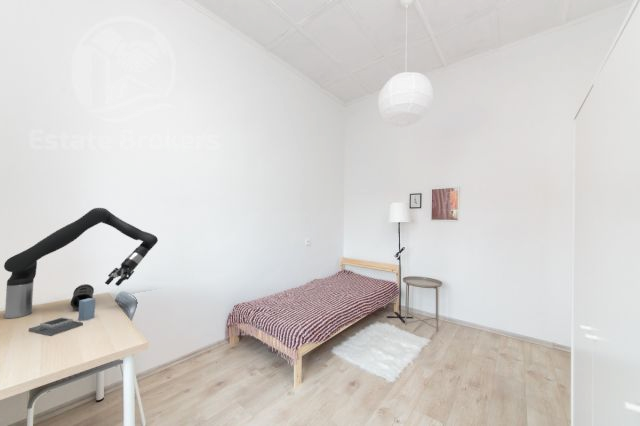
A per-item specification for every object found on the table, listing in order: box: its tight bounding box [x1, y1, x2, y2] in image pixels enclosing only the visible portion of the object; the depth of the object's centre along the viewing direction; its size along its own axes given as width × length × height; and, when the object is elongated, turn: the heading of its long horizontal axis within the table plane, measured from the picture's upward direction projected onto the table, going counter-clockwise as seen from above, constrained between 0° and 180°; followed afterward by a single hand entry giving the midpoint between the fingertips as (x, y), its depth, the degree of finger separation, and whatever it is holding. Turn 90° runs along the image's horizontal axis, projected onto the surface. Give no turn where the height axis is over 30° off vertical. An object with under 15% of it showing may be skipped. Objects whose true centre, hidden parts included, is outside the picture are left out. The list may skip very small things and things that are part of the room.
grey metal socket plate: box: [28, 316, 84, 337], centre depth 117 cm, size 16×12×3 cm
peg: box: [77, 298, 96, 322], centre depth 128 cm, size 4×4×10 cm
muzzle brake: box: [70, 284, 95, 310], centre depth 149 cm, size 10×28×10 cm, turn 43°
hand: (111, 284), depth 139 cm, fingers open, 8 cm apart
